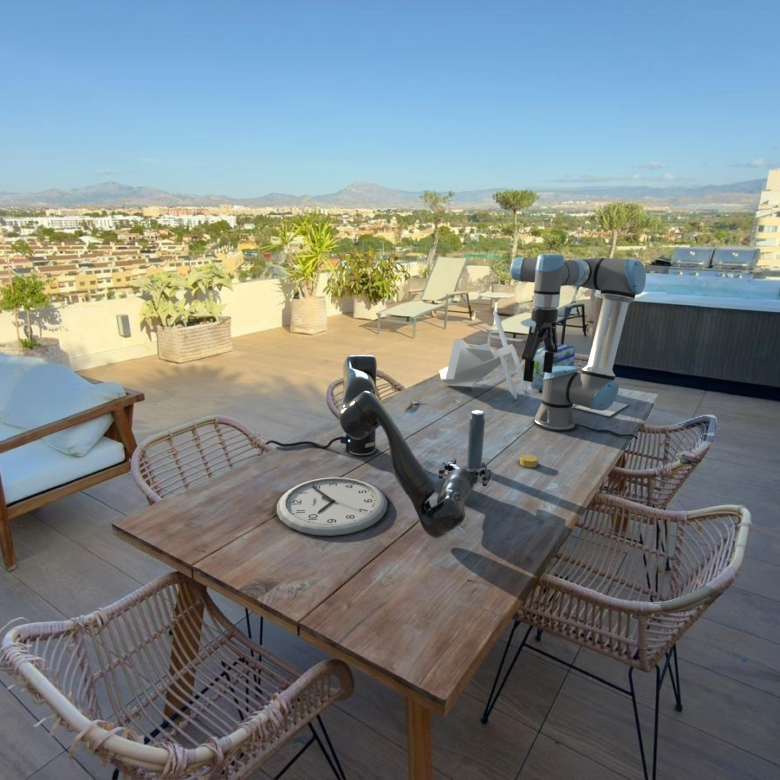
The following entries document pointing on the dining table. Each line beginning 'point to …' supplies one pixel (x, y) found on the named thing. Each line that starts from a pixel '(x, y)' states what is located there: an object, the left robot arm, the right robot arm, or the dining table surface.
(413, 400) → the fork
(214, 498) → the dining table surface
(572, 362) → the lunch box
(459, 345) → the white plastic object
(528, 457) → the lid
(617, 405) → the invitation card
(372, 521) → the wall clock
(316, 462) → the dining table surface
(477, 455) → the bottle
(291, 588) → the dining table surface
